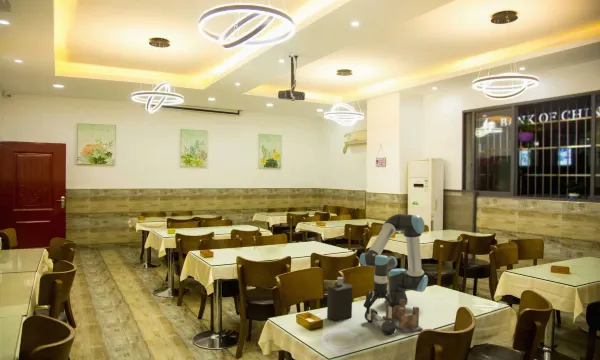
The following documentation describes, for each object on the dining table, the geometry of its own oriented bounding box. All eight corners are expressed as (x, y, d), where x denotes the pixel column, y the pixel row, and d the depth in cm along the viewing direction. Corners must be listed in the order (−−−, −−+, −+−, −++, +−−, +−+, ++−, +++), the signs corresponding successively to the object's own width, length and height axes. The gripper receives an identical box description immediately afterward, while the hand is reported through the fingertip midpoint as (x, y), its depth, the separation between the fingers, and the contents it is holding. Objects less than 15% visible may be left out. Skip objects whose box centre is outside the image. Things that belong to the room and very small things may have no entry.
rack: (402, 333, 239) (403, 311, 239) (382, 318, 262) (382, 298, 262) (422, 330, 243) (423, 309, 243) (400, 316, 266) (401, 297, 266)
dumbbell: (382, 336, 234) (383, 322, 234) (364, 322, 256) (364, 309, 255) (395, 334, 236) (395, 320, 236) (376, 320, 258) (376, 307, 258)
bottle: (353, 317, 264) (354, 277, 263) (333, 322, 254) (335, 281, 254) (344, 313, 270) (345, 274, 270) (325, 318, 261) (326, 278, 260)
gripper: (364, 284, 238) (362, 322, 238) (402, 282, 246) (401, 319, 246) (358, 281, 245) (357, 317, 245) (396, 279, 253) (395, 314, 253)
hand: (379, 318), depth 246 cm, fingers open, 13 cm apart
